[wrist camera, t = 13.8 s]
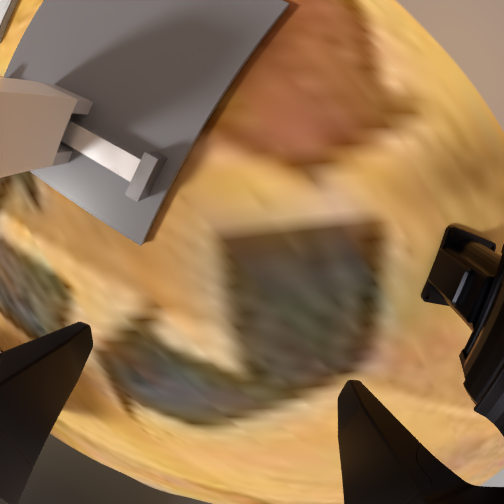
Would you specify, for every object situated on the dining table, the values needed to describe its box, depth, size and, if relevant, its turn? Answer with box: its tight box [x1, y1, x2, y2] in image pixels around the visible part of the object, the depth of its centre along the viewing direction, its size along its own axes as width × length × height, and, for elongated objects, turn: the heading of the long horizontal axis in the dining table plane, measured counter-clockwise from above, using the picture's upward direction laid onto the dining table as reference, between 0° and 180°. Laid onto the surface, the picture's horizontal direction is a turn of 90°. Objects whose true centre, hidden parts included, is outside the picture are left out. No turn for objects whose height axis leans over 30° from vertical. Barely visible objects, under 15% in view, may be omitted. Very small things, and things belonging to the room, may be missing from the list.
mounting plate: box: [4, 0, 289, 246], centre depth 15 cm, size 22×20×1 cm
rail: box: [0, 76, 168, 202], centre depth 16 cm, size 20×3×2 cm, turn 59°
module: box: [0, 77, 93, 178], centre depth 12 cm, size 5×5×10 cm
